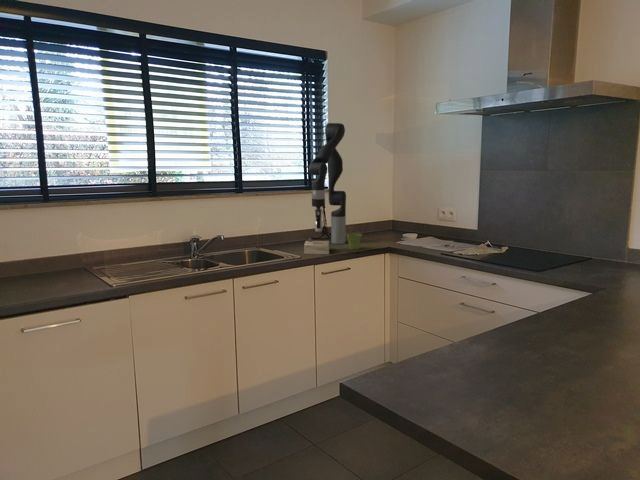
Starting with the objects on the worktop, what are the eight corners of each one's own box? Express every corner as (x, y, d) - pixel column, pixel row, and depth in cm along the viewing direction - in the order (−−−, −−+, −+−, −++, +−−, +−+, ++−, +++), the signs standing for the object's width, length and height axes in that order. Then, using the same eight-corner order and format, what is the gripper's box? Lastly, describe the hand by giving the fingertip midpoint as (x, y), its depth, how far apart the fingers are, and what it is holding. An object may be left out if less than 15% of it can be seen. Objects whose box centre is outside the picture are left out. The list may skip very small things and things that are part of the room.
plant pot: (354, 251, 272) (354, 236, 271) (343, 248, 280) (343, 234, 278) (365, 249, 278) (365, 234, 277) (354, 247, 285) (354, 233, 284)
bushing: (315, 230, 272) (315, 220, 271) (322, 230, 271) (322, 220, 271) (315, 231, 268) (314, 221, 267) (322, 231, 268) (322, 221, 267)
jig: (305, 249, 280) (305, 237, 278) (329, 249, 279) (329, 237, 278) (304, 254, 264) (304, 242, 263) (329, 254, 263) (328, 241, 262)
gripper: (312, 197, 274) (312, 226, 276) (311, 199, 260) (311, 229, 262) (325, 197, 273) (325, 226, 276) (324, 198, 259) (325, 229, 262)
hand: (318, 227), depth 269 cm, fingers closed on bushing, 4 cm apart
